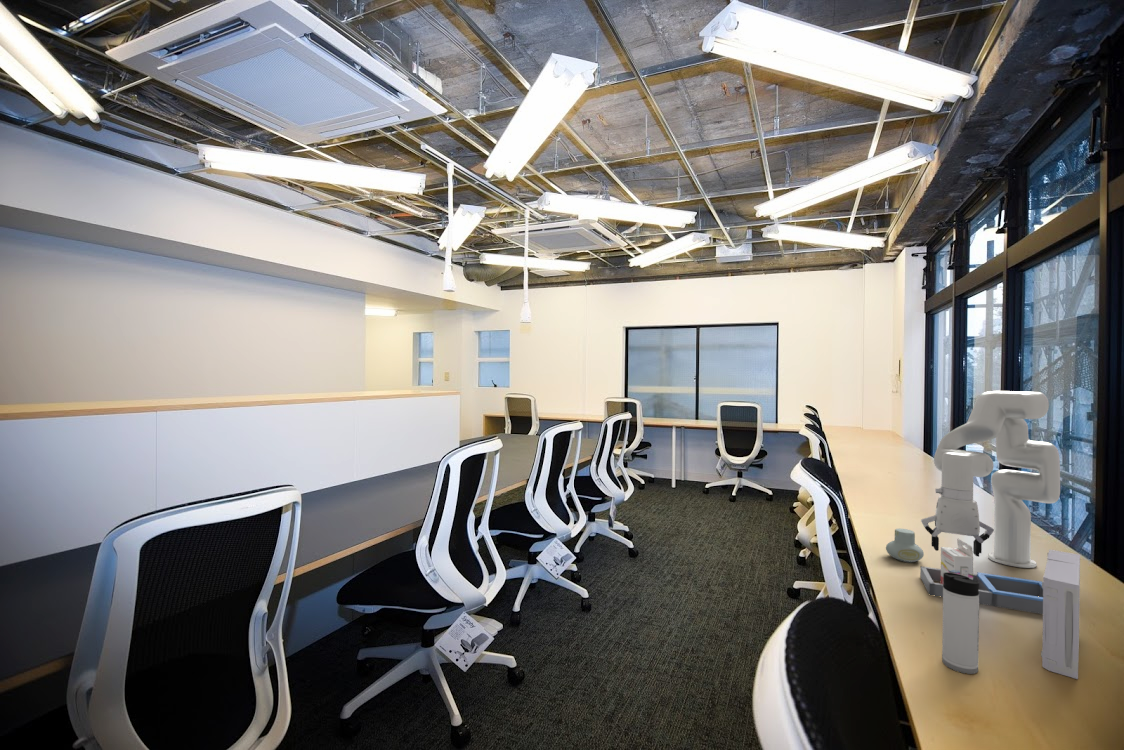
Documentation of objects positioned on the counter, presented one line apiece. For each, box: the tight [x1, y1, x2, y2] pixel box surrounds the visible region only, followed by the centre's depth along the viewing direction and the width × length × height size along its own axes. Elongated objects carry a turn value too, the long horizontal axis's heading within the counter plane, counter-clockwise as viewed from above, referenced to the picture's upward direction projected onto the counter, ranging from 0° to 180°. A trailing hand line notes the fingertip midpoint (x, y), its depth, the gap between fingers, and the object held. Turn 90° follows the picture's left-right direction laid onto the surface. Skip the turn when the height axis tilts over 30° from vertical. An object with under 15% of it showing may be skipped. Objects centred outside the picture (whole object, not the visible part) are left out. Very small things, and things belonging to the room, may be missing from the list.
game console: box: [1040, 549, 1081, 680], centre depth 120 cm, size 6×27×20 cm, turn 135°
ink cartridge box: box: [940, 538, 974, 584], centre depth 153 cm, size 9×5×15 cm, turn 168°
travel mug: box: [941, 573, 980, 675], centre depth 113 cm, size 6×7×20 cm
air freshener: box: [885, 528, 924, 563], centre depth 179 cm, size 11×8×10 cm
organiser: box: [919, 565, 1043, 615], centre depth 150 cm, size 16×30×4 cm, turn 63°
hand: (955, 552), depth 153 cm, fingers open, 9 cm apart
